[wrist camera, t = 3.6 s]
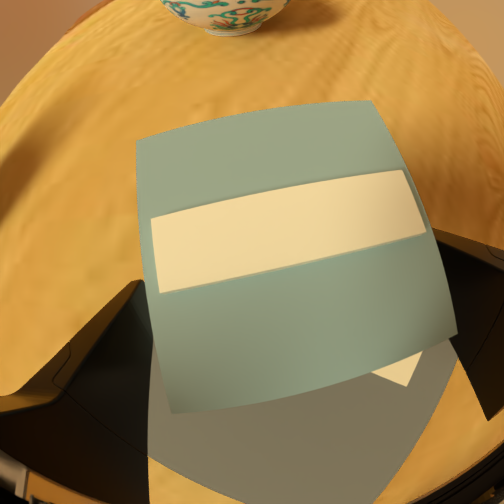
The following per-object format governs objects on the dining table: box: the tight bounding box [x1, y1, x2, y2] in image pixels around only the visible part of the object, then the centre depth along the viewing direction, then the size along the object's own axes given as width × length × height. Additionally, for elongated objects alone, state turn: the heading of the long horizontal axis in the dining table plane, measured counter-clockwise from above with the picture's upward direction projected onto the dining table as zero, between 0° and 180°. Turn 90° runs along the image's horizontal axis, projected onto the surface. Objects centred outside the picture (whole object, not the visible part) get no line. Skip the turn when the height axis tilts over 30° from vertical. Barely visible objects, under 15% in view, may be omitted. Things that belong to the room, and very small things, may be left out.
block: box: [136, 101, 458, 414], centre depth 10 cm, size 5×5×12 cm
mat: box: [148, 337, 458, 504], centre depth 15 cm, size 20×19×1 cm
